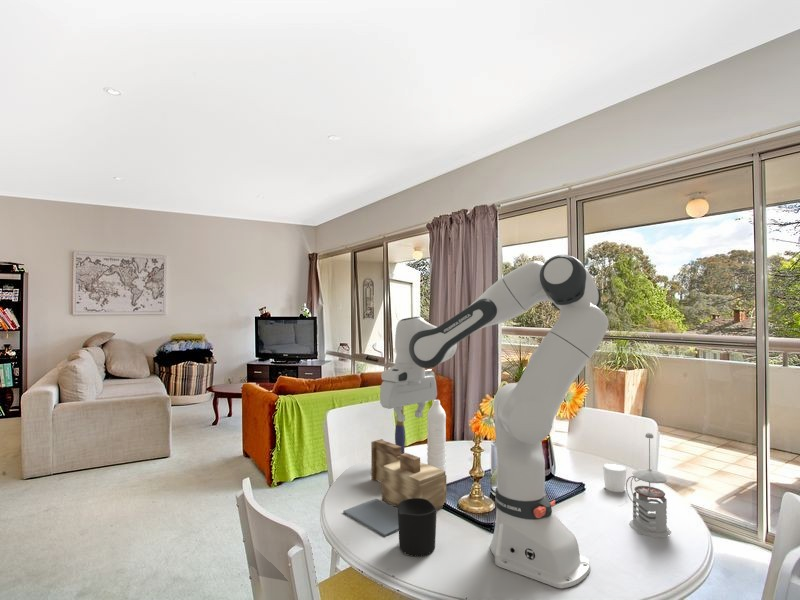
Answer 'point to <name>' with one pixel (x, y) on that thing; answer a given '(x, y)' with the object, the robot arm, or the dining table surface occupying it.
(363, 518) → the mat
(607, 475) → the white cup
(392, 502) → the wooden open box
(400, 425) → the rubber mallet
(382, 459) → the rail
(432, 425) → the water bottle
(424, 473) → the lid
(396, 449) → the key
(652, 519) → the french press
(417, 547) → the pen holder
